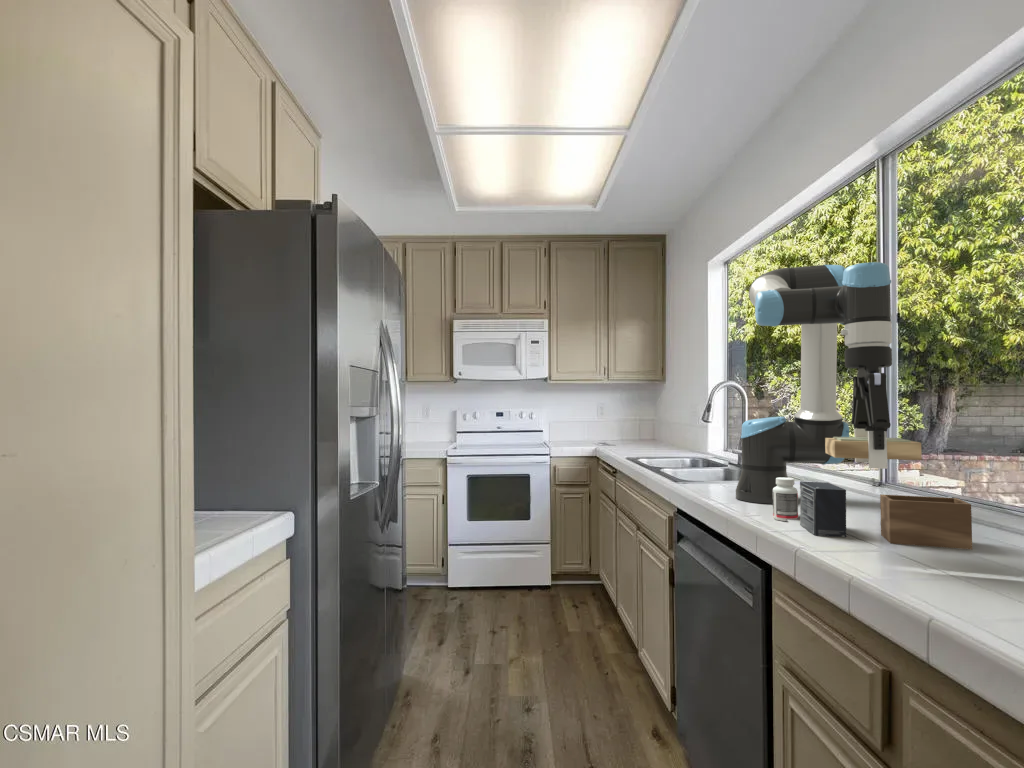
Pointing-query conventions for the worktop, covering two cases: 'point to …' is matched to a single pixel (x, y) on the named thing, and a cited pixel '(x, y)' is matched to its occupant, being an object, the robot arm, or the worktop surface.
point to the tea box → (926, 521)
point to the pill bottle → (785, 499)
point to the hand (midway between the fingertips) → (870, 465)
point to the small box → (823, 509)
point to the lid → (859, 448)
